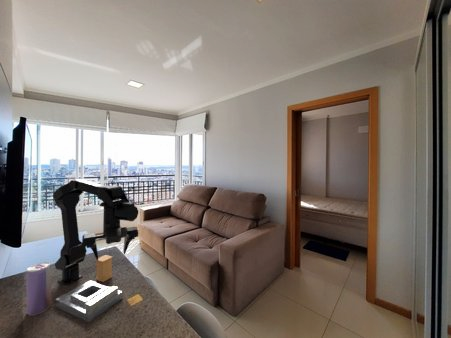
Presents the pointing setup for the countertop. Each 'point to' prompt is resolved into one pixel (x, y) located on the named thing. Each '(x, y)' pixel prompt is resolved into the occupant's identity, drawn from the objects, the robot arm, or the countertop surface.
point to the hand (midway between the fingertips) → (111, 256)
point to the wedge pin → (104, 268)
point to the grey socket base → (89, 300)
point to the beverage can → (38, 288)
